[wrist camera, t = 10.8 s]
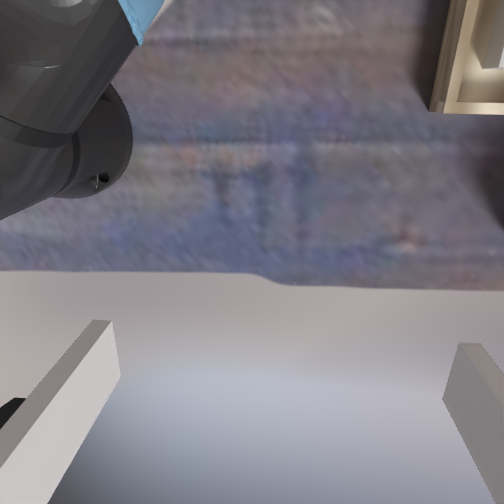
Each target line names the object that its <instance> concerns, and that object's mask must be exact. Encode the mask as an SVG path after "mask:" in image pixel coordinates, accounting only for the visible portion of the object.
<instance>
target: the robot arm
mask: <svg viewBox="0 0 504 504" xmlns="http://www.w3.org/2000/svg"><path fill="white" fill-rule="evenodd" d="M163 2H164V0H0V220H2V219H4V218H6V217H8V216H10V215H12V214H15V213H17V212H19V211H21V210H23V209H25V208H28V207H30V206H32V205H34V204H36V203H38V202H41V201H43V200H45V199H47V198H49V197H57V198H70V199H75V198H84V197H88V196H91V195H94V194H97V193H99V192H101V191H102V190H104V189H106V188H108V187H110V186H111V185H112V184H114V183H115V182H116V181H117V180H118V179H119V178H120V177H121V175H122V174H123V173H124V171H125V169H126V167H127V165H128V163H129V160H130V157H131V153H132V144H133V136H132V127H131V122H130V119H129V115H128V113H127V110H126V108H125V106H124V104H123V102H122V100H121V98H120V96H119V95H118V93H117V92H116V91H115V89H114V88H113V87H112V86H111V84H110V82H111V81H112V79H113V78H114V76H115V75H116V74H117V72H118V71H119V69H120V68H121V66H122V65H123V64H124V62H125V61H126V59H127V58H128V56H129V55H130V53H131V52H132V51H133V49H134V48H135V46H136V45H137V46H138V47H140V46H141V45H142V43H143V35H144V34H145V32H146V30H147V29H148V27H149V26H150V24H151V23H152V21H153V19H154V18H155V16H156V15H157V13H158V11H159V10H160V8H161V6H162V5H163ZM120 376H121V375H120V368H119V363H118V356H117V350H116V344H115V337H114V331H113V325H112V321H104V320H92V321H91V323H90V324H89V325H88V326H87V328H86V329H85V330H84V331H83V332H82V333H81V335H80V336H79V337H78V338H77V339H76V340H75V342H74V343H73V344H72V345H71V346H70V348H69V349H68V350H67V351H66V352H65V353H64V355H63V356H62V357H61V359H60V360H59V361H58V362H57V363H56V364H55V365H54V367H53V368H52V369H51V370H50V371H49V373H48V374H47V375H46V376H45V377H44V379H43V380H42V381H41V382H40V383H39V384H38V386H37V387H36V388H35V389H34V390H33V391H32V393H31V394H30V395H29V396H28V397H27V398H13V399H12V400H10V401H9V402H8V403H6V404H5V405H3V406H2V407H1V408H0V504H47V503H48V501H49V499H50V498H51V496H52V494H53V492H54V491H55V489H56V487H57V485H58V484H59V482H60V480H61V479H62V477H63V475H64V473H65V472H66V470H67V468H68V467H69V465H70V463H71V461H72V460H73V458H74V456H75V454H76V452H77V451H78V449H79V447H80V446H81V444H82V442H83V441H84V439H85V437H86V435H87V434H88V432H89V430H90V428H91V427H92V425H93V423H94V421H95V420H96V418H97V416H98V415H99V413H100V411H101V409H102V408H103V406H104V404H105V402H106V400H107V399H108V397H109V396H110V394H111V392H112V390H113V389H114V387H115V385H116V383H117V382H118V380H119V378H120ZM443 401H444V403H445V405H446V407H447V409H448V411H449V413H450V415H451V417H452V419H453V421H454V423H455V425H456V427H457V429H458V431H459V433H460V435H461V436H462V438H463V440H464V442H465V444H466V446H467V448H468V450H469V452H470V454H471V456H472V458H473V460H474V462H475V464H476V466H477V468H478V470H479V472H480V474H481V475H482V477H483V479H484V481H485V483H486V485H487V487H488V489H489V491H490V493H491V495H492V497H493V499H494V501H495V503H496V504H504V373H503V372H502V370H501V369H500V368H499V366H498V365H497V364H496V363H495V361H494V360H493V359H492V358H491V356H490V355H489V354H488V352H487V351H486V350H485V348H484V347H483V346H482V345H481V344H480V343H462V342H459V344H458V347H457V351H456V354H455V358H454V361H453V364H452V368H451V371H450V375H449V378H448V382H447V385H446V388H445V392H444V395H443Z"/></svg>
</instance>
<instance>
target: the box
mask: <svg viewBox="0 0 504 504" xmlns="http://www.w3.org/2000/svg"><path fill="white" fill-rule="evenodd" d="M498 3H499V0H450V4H449V9H448V14H447V19H446V24H445V30H444V35H443V40H442V45H441V50H440V55H439V60H438V65H437V70H436V76H435V81H434V86H433V91H432V96H431V101H430V106H429V111H431V112H438V113H456V114H498V115H504V70H501V69H483V65H484V61H485V57H486V52H487V48H488V44H489V40H490V36H491V32H492V28H493V23H494V19H495V15H496V11H497V7H498Z"/></svg>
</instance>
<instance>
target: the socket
mask: <svg viewBox="0 0 504 504" xmlns="http://www.w3.org/2000/svg"><path fill="white" fill-rule="evenodd" d="M483 69H501V70H504V0H499V3H498V7H497V11H496V15H495V19H494V23H493V28H492V32H491V36H490V40H489V44H488V48H487V52H486V57H485V61H484V65H483Z"/></svg>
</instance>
